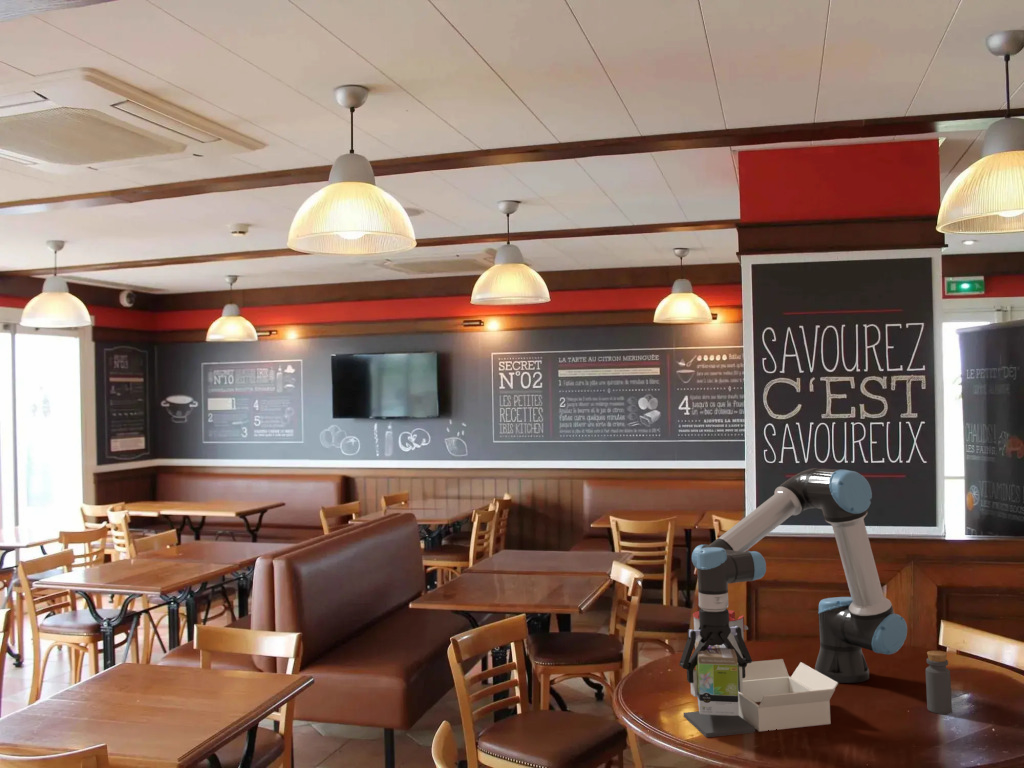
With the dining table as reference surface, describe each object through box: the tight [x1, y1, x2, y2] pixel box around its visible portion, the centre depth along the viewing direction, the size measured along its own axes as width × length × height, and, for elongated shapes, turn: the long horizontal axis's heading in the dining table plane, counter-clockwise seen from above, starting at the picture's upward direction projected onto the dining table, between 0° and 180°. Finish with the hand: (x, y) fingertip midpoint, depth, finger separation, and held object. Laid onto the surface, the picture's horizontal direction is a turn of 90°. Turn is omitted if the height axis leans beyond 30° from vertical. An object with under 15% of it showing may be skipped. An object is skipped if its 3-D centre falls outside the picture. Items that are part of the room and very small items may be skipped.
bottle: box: [925, 650, 953, 715], centre depth 224 cm, size 6×6×15 cm
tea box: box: [695, 642, 739, 716], centre depth 219 cm, size 15×10×15 cm
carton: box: [738, 658, 839, 732], centre depth 225 cm, size 23×27×10 cm
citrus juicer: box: [692, 609, 749, 658], centre depth 265 cm, size 16×17×20 cm
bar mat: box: [683, 710, 756, 738], centre depth 219 cm, size 13×15×1 cm
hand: (716, 693), depth 219 cm, fingers closed on tea box, 12 cm apart
